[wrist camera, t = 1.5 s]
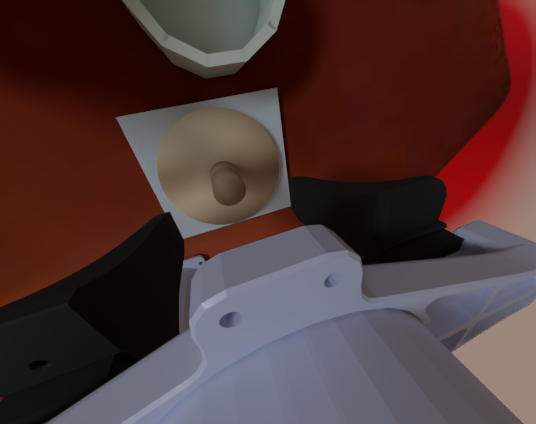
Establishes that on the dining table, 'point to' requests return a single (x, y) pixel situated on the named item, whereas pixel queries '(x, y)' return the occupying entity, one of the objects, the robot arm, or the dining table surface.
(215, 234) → the dining table surface
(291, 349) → the robot arm
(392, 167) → the dining table surface
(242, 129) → the lid
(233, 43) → the bowl
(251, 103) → the mat
